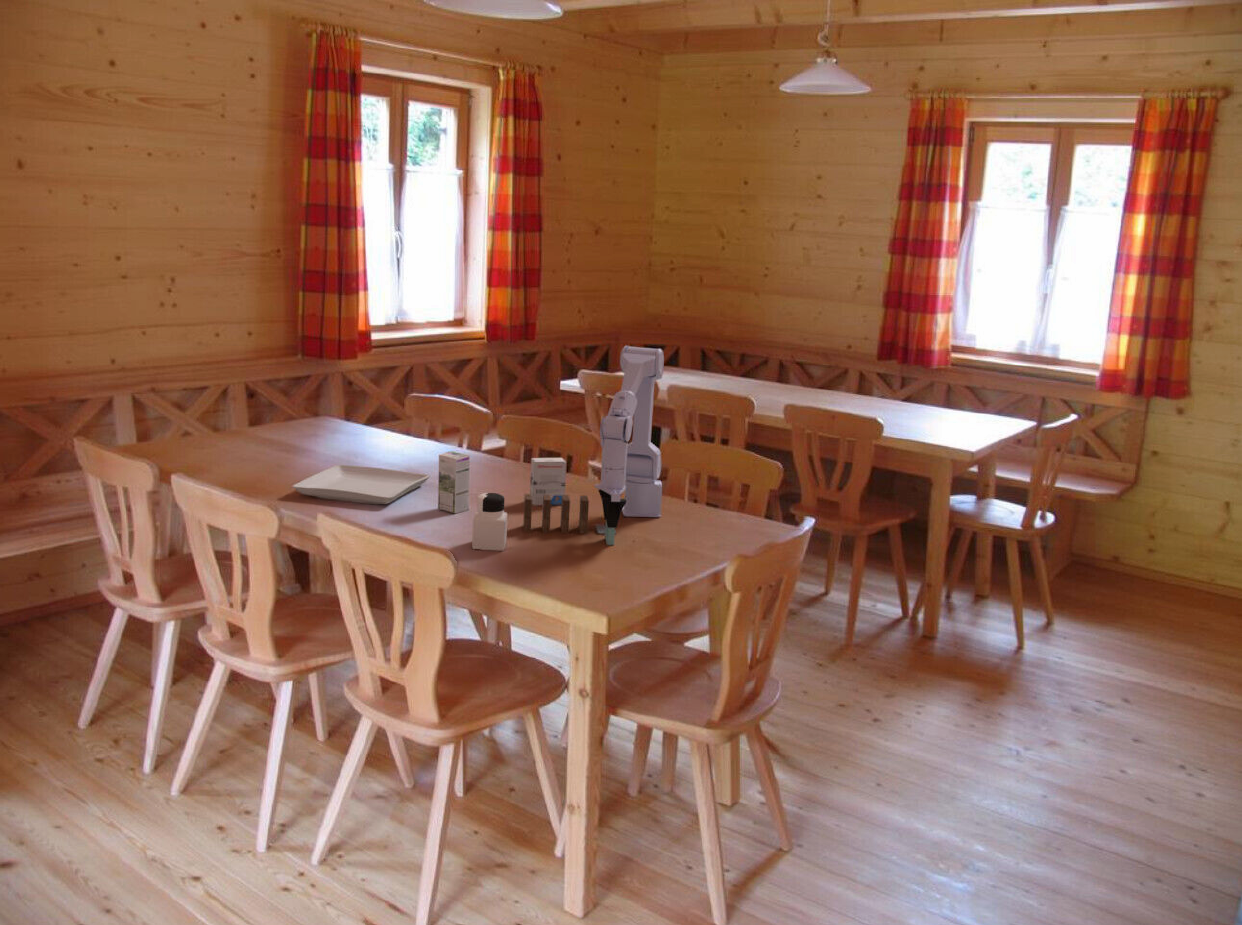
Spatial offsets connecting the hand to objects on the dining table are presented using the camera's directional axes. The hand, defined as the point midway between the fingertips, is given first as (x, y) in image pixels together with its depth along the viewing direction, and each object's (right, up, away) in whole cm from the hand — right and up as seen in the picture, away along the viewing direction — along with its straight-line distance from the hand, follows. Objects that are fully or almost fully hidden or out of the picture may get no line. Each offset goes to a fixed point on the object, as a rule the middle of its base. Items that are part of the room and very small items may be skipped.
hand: (610, 523), depth 256 cm
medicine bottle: (-27, -5, -7) cm, 29 cm away
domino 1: (-20, -2, +7) cm, 21 cm away
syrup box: (-40, +2, +20) cm, 44 cm away
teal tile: (0, -4, +1) cm, 4 cm away
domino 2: (-16, -2, +8) cm, 18 cm away
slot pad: (-1, -2, +10) cm, 10 cm away
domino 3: (-11, -2, +8) cm, 14 cm away
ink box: (-17, +3, +31) cm, 36 cm away
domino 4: (-7, -2, +9) cm, 11 cm away
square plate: (-65, +6, +32) cm, 73 cm away
